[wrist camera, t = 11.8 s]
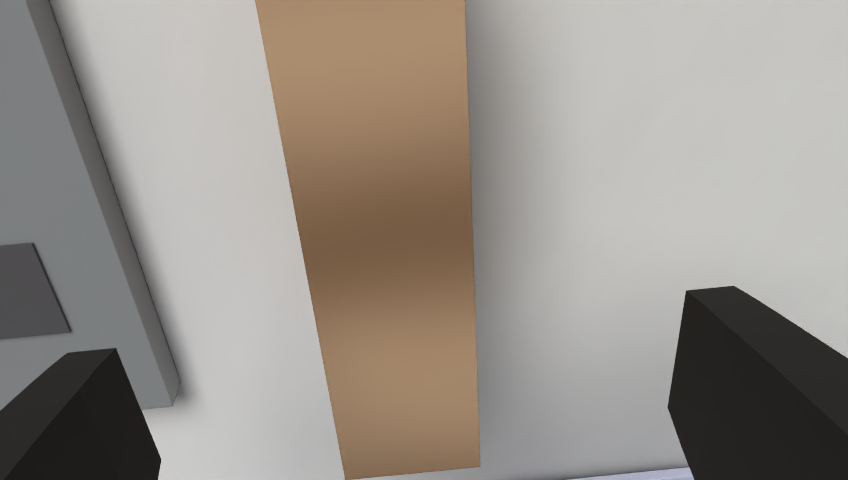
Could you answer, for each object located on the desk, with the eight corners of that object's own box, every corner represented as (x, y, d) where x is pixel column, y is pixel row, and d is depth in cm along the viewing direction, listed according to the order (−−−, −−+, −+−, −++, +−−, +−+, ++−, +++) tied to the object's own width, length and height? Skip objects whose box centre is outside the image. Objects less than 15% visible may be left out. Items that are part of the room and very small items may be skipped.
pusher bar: (452, 304, 20) (480, 466, 15) (351, 314, 20) (345, 480, 15) (427, -164, 14) (459, -155, 9) (280, -154, 14) (229, -136, 9)
